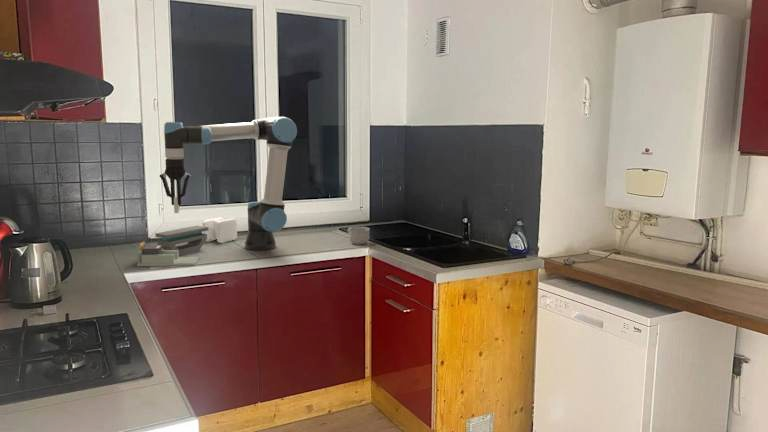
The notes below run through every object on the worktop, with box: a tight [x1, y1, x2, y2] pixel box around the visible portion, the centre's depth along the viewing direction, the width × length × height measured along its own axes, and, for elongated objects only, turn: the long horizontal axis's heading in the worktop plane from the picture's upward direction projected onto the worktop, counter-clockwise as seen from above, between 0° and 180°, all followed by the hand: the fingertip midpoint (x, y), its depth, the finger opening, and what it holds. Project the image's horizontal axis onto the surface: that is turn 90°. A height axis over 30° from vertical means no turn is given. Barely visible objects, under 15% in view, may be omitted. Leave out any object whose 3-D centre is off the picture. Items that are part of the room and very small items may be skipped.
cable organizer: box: [202, 217, 238, 244], centre depth 312 cm, size 15×11×12 cm
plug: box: [142, 245, 163, 255], centre depth 263 cm, size 7×5×6 cm
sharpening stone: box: [154, 225, 209, 257], centre depth 284 cm, size 25×8×11 cm, turn 150°
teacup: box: [347, 226, 371, 246], centre depth 312 cm, size 14×11×8 cm
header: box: [136, 241, 201, 267], centre depth 264 cm, size 24×12×9 cm, turn 97°
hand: (176, 212), depth 262 cm, fingers closed
